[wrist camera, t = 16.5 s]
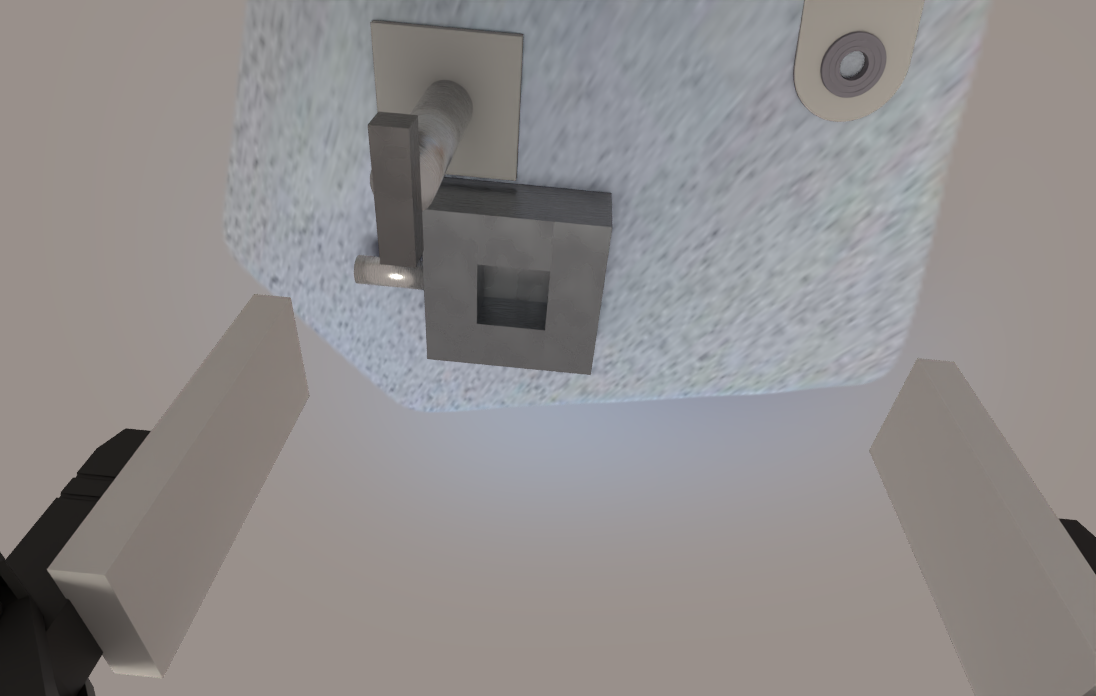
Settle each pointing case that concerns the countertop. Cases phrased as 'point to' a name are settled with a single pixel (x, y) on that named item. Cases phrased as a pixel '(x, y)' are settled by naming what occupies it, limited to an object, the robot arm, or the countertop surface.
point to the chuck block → (508, 274)
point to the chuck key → (413, 166)
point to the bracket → (841, 28)
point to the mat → (474, 63)
